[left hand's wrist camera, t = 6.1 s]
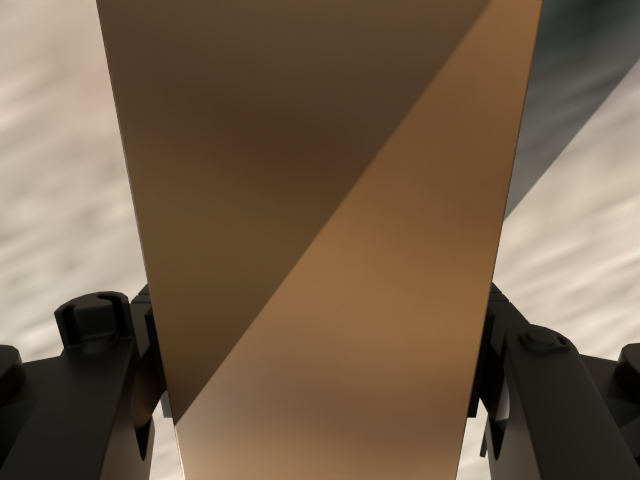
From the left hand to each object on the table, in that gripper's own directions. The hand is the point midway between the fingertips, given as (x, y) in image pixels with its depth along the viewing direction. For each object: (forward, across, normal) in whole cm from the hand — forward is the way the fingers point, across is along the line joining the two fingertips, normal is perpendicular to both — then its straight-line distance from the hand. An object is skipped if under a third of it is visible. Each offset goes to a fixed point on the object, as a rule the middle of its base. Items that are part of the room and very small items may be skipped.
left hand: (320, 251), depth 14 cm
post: (+1, 0, -36) cm, 36 cm away
